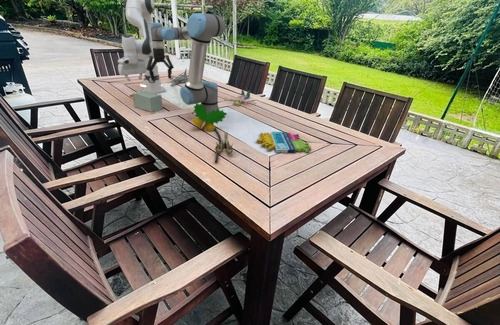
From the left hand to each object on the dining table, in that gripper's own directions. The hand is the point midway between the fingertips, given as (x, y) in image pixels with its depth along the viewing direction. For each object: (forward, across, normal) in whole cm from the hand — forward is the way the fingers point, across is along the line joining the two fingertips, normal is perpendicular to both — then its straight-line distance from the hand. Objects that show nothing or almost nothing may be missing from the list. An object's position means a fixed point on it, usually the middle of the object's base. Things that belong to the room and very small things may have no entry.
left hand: (134, 80), depth 190 cm
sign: (+19, -14, +117) cm, 120 cm away
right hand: (-2, -12, +16) cm, 20 cm away
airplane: (+16, -74, -34) cm, 83 cm away
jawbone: (+19, +17, +99) cm, 103 cm away
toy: (+18, -64, +51) cm, 83 cm away
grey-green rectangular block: (+18, 0, +13) cm, 22 cm away
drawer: (+17, 0, +8) cm, 19 cm away
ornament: (+18, -1, +72) cm, 74 cm away
